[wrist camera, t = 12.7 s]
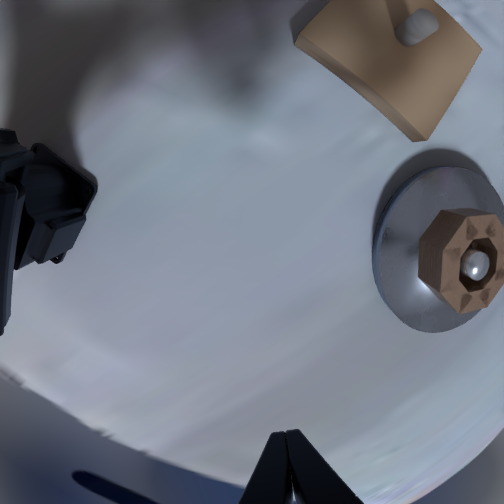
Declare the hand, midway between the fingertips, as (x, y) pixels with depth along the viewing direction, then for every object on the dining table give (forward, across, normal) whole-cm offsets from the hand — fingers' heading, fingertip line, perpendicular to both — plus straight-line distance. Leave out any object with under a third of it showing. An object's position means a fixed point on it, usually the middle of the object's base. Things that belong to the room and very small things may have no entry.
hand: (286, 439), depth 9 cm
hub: (+13, -13, -1) cm, 19 cm away
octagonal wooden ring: (+12, -13, -1) cm, 18 cm away
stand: (+13, -11, -16) cm, 23 cm away
